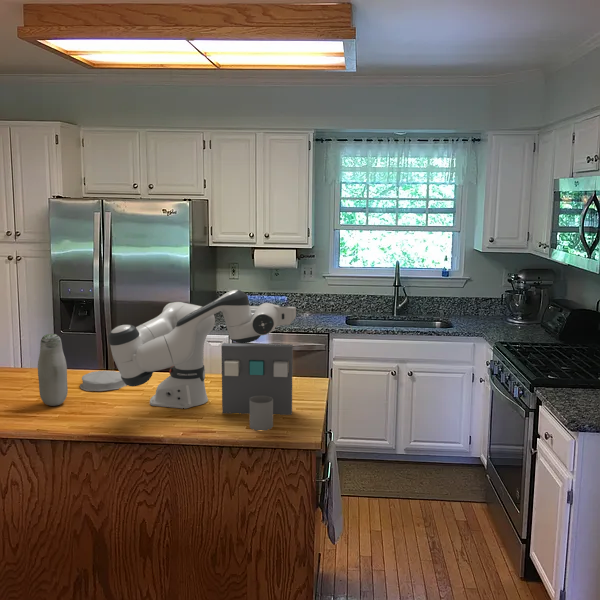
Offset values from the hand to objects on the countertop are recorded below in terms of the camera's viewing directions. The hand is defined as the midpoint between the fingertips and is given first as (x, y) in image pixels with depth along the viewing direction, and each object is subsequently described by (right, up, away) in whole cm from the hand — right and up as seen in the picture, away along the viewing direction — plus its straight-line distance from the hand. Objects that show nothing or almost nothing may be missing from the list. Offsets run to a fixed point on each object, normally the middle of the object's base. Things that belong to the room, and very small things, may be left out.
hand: (270, 308), depth 244 cm
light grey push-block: (+4, -24, -8) cm, 26 cm away
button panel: (-5, -39, -3) cm, 39 cm away
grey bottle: (-84, -37, +3) cm, 92 cm away
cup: (-2, -42, -17) cm, 45 cm away
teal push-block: (-5, -24, -6) cm, 25 cm away
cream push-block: (-14, -24, -7) cm, 29 cm away
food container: (-72, -33, +28) cm, 84 cm away
